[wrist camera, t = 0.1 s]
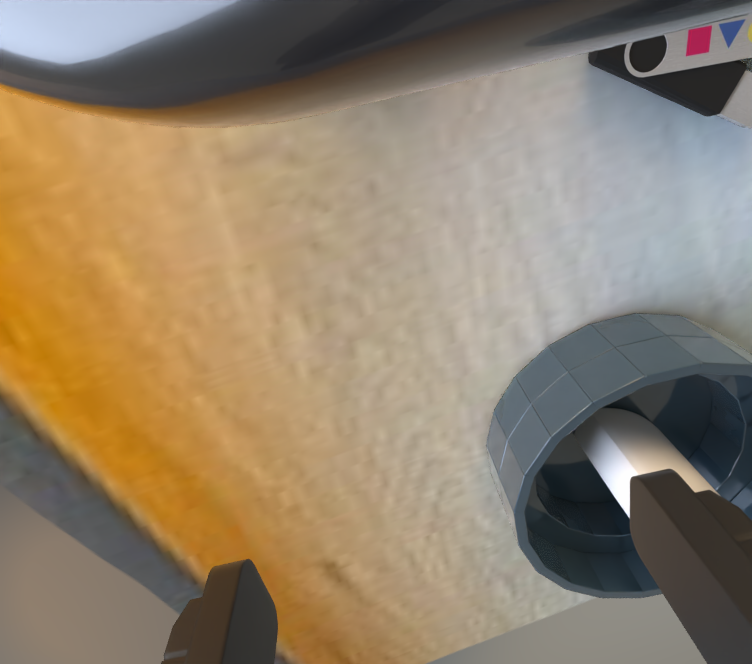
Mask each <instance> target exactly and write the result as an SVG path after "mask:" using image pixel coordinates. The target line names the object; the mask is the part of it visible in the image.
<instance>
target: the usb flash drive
mask: <svg viewBox="0 0 752 664" xmlns="http://www.w3.org/2000/svg"><path fill="white" fill-rule="evenodd" d="M746 58H752V14H750V15H746V16H742V17H738V18H733V19H729V20H725V21H721V22H717V23H713V24H708V25H704V26H700V27H696V28H692V29H687V30H683V31H679V32H675V33H671V34H666V35H662V36H658V37H654V38H649V39H645V40H641V41H636V42H632V43H628V44H623V45H619V46H615V47H610V48H606V49H602V50H597V51H593V52H589V57H588V59H589V63H590V64H591V65H593V66H596V67H598V68H600V69H602V70H604V71H607V72H609V73H611V74H613V75H616V76H618V77H620V78H622V79H624V80H627V81H629V82H631V83H633V84H635V85H638V86H640V87H642V88H644V89H647V90H649V91H651V92H653V93H655V94H658V95H660V96H662V97H664V98H666V99H669V100H671V101H673V102H675V103H677V104H680V105H682V106H684V107H686V108H689V109H691V110H693V111H695V112H697V113H700V114H702V115H704V116H713V115H716V116H719V117H721V118H723V119H725V120H728V121H730V122H732V123H734V124H736V125H739V126H741V127H743V128H752V72H750V71H748V70H746V69H747V66H746V64H745V63H743V62H742V61H740V60H741V59H746Z"/></svg>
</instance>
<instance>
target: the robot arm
mask: <svg viewBox="0 0 752 664" xmlns="http://www.w3.org/2000/svg"><path fill="white" fill-rule="evenodd" d="M750 14H752V0H0V89H1V90H4V91H6V92H9V93H12V94H15V95H18V96H22V97H25V98H28V99H32V100H35V101H38V102H42V103H45V104H48V105H52V106H55V107H58V108H62V109H65V110H69V111H73V112H78V113H83V114H88V115H93V116H98V117H103V118H108V119H113V120H117V121H122V122H131V123H140V124H149V125H159V126H168V127H200V128H228V127H238V126H248V125H258V124H268V123H278V122H286V121H291V120H296V119H301V118H306V117H310V116H315V115H320V114H324V113H329V112H334V111H338V110H343V109H348V108H352V107H356V106H360V105H365V104H369V103H373V102H377V101H382V100H386V99H390V98H394V97H399V96H403V95H407V94H411V93H416V92H420V91H424V90H428V89H433V88H437V87H441V86H445V85H450V84H454V83H458V82H462V81H467V80H471V79H475V78H479V77H484V76H488V75H492V74H497V73H501V72H505V71H510V70H514V69H518V68H523V67H527V66H532V65H536V64H540V63H545V62H549V61H553V60H558V59H562V58H567V57H571V56H575V55H580V54H584V53H589V52H593V51H597V50H602V49H606V48H610V47H615V46H619V45H623V44H628V43H632V42H636V41H641V40H645V39H649V38H654V37H658V36H662V35H666V34H671V33H675V32H679V31H683V30H687V29H692V28H696V27H700V26H704V25H708V24H713V23H717V22H721V21H725V20H729V19H733V18H738V17H742V16H746V15H750ZM630 532H631V536H632V540H633V543H634V545H635V548H636V550H637V552H638V554H639V556H640V558H641V560H642V562H643V563H644V565H645V566H646V568H647V569H648V571H649V573H650V574H651V576H652V577H653V579H654V580H655V582H656V584H657V585H658V587H659V588H660V590H661V591H662V593H663V594H664V596H665V598H666V599H667V601H668V602H669V604H670V606H671V607H672V609H673V610H674V612H675V613H676V615H677V617H678V618H679V620H680V621H681V623H682V624H683V626H684V628H685V629H686V631H687V632H688V634H689V635H690V637H691V639H692V640H693V642H694V643H695V645H696V646H697V648H698V650H699V651H700V653H701V654H702V656H703V658H704V659H705V661H706V662H707V664H752V520H751V519H750V518H749V517H748V516H747V515H746V514H745V513H744V512H743V511H742V510H741V509H740V508H739V507H738V506H736V505H734V504H733V503H731V502H729V501H728V500H726V499H724V498H723V497H721V496H719V495H718V494H716V493H714V492H713V491H711V490H705V491H700V492H694V491H693V490H692V489H691V488H690V486H689V485H688V484H687V483H686V482H685V481H684V480H683V478H682V477H681V476H680V475H679V474H678V473H677V472H676V471H674V470H673V469H664V470H659V471H655V472H650V473H646V474H641V475H637V476H633V477H631V479H630ZM277 633H278V622H277V613H276V609H275V605H274V602H273V600H272V598H271V596H270V594H269V592H268V590H267V589H266V587H265V585H264V583H263V581H262V579H261V577H260V575H259V573H258V571H257V569H256V567H255V565H254V564H253V562H252V561H251V560H250V559H246V560H241V561H237V562H232V563H228V564H223V565H219V566H215V567H213V568H212V569H211V571H210V573H209V575H208V579H207V582H206V586H205V589H204V593H203V597H201V598H197V599H192V600H190V601H189V603H188V604H187V606H186V607H185V609H184V610H183V612H182V613H181V615H180V616H179V618H178V620H177V621H176V623H175V624H174V626H173V628H172V631H171V634H170V637H169V641H168V644H167V647H166V650H165V653H164V661H162V663H161V664H274V659H275V651H276V642H277Z"/></svg>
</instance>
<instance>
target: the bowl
mask: <svg viewBox="0 0 752 664" xmlns="http://www.w3.org/2000/svg"><path fill="white" fill-rule="evenodd" d="M600 408H616V409H622V410H627V411H630V412H633V413H636V414H638V415H640V416H642V417H644V418H645V419H647V420H648V421H650V422H651V423H652V424H653V425H654V426H656V427H657V428H658V429H659V430H660V431H661V432H662V434H663V435H664V436H665V437H666V438H667V439H668V440H669V441H670V442H671V443H672V444H673V445H674V446H675V448H676V449H677V450H678V451H679V452H680V453H681V454H682V455H683V456H684V457H685V458H686V459H687V460H688V462H689V463H690V464H691V465H692V466H693V467H694V468H695V469H696V470H697V471H698V472H699V473H700V474H701V476H702V477H703V478H704V479H705V480H706V481H707V482H708V483H709V484H710V485H711V486H712V487H713V489H714V490H715V491H716V492H717V493H718V494H719V495H720V496H721V497H723V498H724V499H726V500H728V501H729V502H731V503H733V504H734V505H736V506H738V507H739V508H740V509H741V510H742V511H743V512H744V513H745V514H746V515H747V516H748V517H749V518H750V519H751V520H752V354H751V353H749V352H748V351H747V350H745V349H743V348H742V347H740V346H739V345H737V344H736V343H734V342H733V341H731V340H729V339H728V338H726V337H725V336H723V335H722V334H720V333H719V332H717V331H715V330H714V329H711V328H709V327H706V326H704V325H702V324H699V323H697V322H695V321H692V320H690V319H687V318H685V317H683V316H679V315H662V314H643V313H637V314H636V313H634V314H630V315H626V316H622V317H617V318H613V319H609V320H605V321H600V322H596V323H592V324H589V325H587V326H585V327H583V328H581V329H579V330H577V331H575V332H574V333H572V334H570V335H568V336H566V337H564V338H562V339H560V340H558V341H557V342H555V343H553V344H551V345H549V346H548V347H547V348H545V349H544V350H543V351H542V352H541V353H540V354H539V355H538V356H537V357H536V358H535V359H533V360H532V361H531V362H530V363H529V364H528V365H527V366H526V367H525V368H524V369H522V370H521V371H520V372H519V373H518V374H517V375H516V376H515V377H514V379H513V380H512V382H511V383H510V385H509V387H508V388H507V390H506V392H505V393H504V395H503V396H502V398H501V400H500V401H499V403H498V405H497V406H496V408H495V409H494V413H493V417H492V422H491V426H490V430H489V435H488V439H487V445H486V447H487V453H488V459H489V465H490V470H491V475H492V478H493V480H494V483H495V486H496V488H497V491H498V493H499V496H500V499H501V501H502V504H503V506H504V509H505V512H506V514H507V517H508V519H509V522H510V525H511V527H512V530H513V532H514V535H515V537H516V540H517V543H518V545H519V547H520V548H521V550H522V551H523V553H524V554H525V556H526V557H527V558H528V560H529V561H530V563H531V564H532V566H533V567H534V569H535V570H536V571H537V572H538V573H540V574H542V575H543V576H545V577H546V578H548V579H550V580H551V581H553V582H554V583H556V584H558V585H559V586H561V587H562V588H564V589H566V590H570V591H574V592H578V593H582V594H586V595H590V596H595V597H599V598H644V597H649V596H654V595H659V594H663V593H662V591H661V590H660V588H659V587H658V585H657V584H656V582H655V580H654V579H653V577H652V576H651V574H650V573H649V571H648V569H647V568H646V566H645V565H644V563H643V562H642V560H641V558H640V556H639V554H638V552H637V550H636V548H635V545H634V543H633V540H632V536H631V532H630V518H629V517H628V516H627V514H626V513H625V511H624V510H623V508H622V507H621V506H620V504H619V503H618V501H617V500H616V498H615V497H614V495H613V494H612V492H611V491H610V489H609V488H608V486H607V485H606V483H605V482H604V480H603V479H602V478H601V476H600V475H599V473H598V472H597V470H596V469H595V467H594V466H593V464H592V463H591V461H590V460H589V458H588V457H587V455H586V454H585V452H584V451H583V449H582V448H581V446H580V445H579V443H578V442H577V440H576V438H575V435H574V434H575V431H576V429H577V427H578V426H579V425H580V424H581V423H583V422H584V421H585V420H586V419H587V418H589V417H590V416H591V415H592V414H593V413H595V412H596V411H597V410H598V409H600Z"/></svg>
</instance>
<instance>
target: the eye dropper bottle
mask: <svg viewBox="0 0 752 664" xmlns="http://www.w3.org/2000/svg"><path fill="white" fill-rule="evenodd" d="M574 435H575V438H576V440H577V442H578V443H579V445H580V446H581V448H582V449H583V451H584V452H585V454H586V455H587V457H588V458H589V460H590V461H591V463H592V464H593V466H594V467H595V469H596V470H597V472H598V473H599V475H600V476H601V478H602V479H603V480H604V482H605V483H606V485H607V486H608V488H609V489H610V491H611V492H612V494H613V495H614V497H615V498H616V500H617V501H618V503H619V504H620V506H621V507H622V508H623V510H624V511H625V513H626V514H627V516H628V517H629V518H630V479H631V477H633V476H637V475H641V474H646V473H650V472H655V471H659V470H664V469H673V470H674V471H676V472H677V473H678V474H679V475H680V476H681V477H682V478H683V480H684V481H685V482H686V483H687V484H688V485H689V486H690V488H691V489H692V490H693V491H694V492H700V491H705V490H711V491H713V492H714V493H716V494H718V493H717V492H716V491H715V490H714V489H713V487H712V486H711V485H710V484H709V483H708V482H707V481H706V480H705V479H704V478H703V477H702V476H701V474H700V473H699V472H698V471H697V470H696V469H695V468H694V467H693V466H692V465H691V464H690V463H689V462H688V460H687V459H686V458H685V457H684V456H683V455H682V454H681V453H680V452H679V451H678V450H677V449H676V448H675V446H674V445H673V444H672V443H671V442H670V441H669V440H668V439H667V438H666V437H665V436H664V435H663V434H662V432H661V431H660V430H659V429H658V428H657V427H656V426H654V425H653V424H652V423H651V422H650V421H648V420H647V419H645V418H644V417H642V416H640V415H638V414H636V413H633V412H630V411H627V410H622V409H616V408H600V409H598V410H597V411H596V412H595V413H593V414H592V415H591V416H590V417H589V418H587V419H586V420H585V421H584V422H583V423H581V424H580V425H579V426H578V427H577V429H576V431H575V434H574ZM718 495H719V494H718ZM719 496H720V495H719Z"/></svg>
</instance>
